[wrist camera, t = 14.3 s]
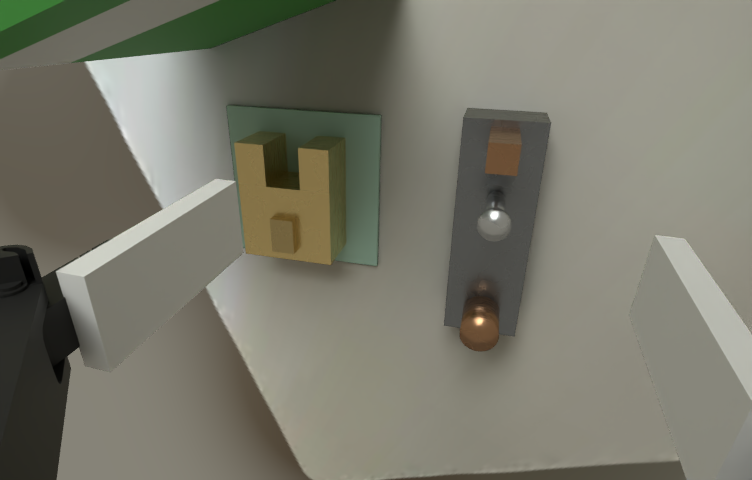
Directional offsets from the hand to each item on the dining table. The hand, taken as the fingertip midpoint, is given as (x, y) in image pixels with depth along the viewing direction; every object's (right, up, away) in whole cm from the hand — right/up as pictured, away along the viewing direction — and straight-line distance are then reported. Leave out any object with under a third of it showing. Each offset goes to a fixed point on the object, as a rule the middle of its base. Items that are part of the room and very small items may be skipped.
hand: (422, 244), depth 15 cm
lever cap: (-8, +5, +29) cm, 30 cm away
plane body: (+9, +2, +26) cm, 27 cm away
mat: (-8, +5, +29) cm, 31 cm away
